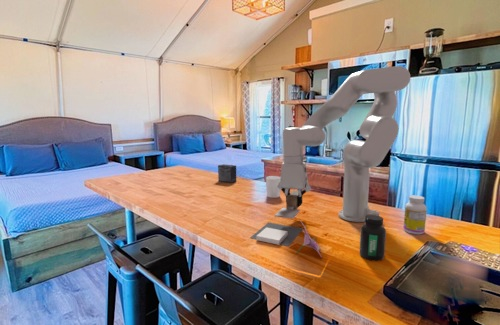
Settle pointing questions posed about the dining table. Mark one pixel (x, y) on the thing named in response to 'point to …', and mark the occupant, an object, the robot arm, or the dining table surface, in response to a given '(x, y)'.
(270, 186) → the white cup
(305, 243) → the lily
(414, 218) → the supplement bottle
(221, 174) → the small box
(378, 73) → the robot arm
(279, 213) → the brown and grey block
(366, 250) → the supplement bottle
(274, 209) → the dining table surface
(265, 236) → the tile
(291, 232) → the mat
